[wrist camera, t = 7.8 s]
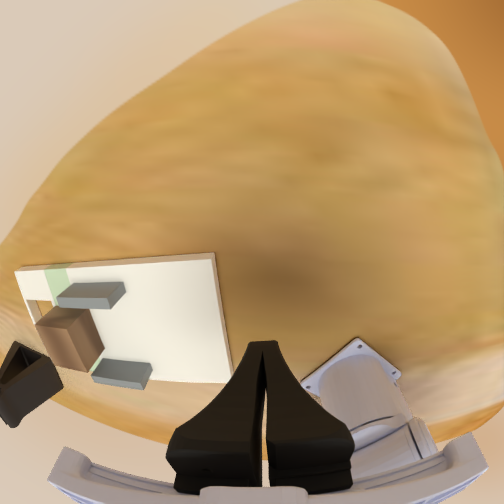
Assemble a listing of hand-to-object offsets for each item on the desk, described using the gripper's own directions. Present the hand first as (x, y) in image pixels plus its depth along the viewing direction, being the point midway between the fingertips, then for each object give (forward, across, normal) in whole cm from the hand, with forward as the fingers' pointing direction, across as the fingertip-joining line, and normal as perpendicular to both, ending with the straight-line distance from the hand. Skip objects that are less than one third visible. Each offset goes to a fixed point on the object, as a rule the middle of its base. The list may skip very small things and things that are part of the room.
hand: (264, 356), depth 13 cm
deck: (+10, +16, +4) cm, 19 cm away
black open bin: (+10, +35, +13) cm, 38 cm away
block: (+8, +19, +4) cm, 21 cm away
